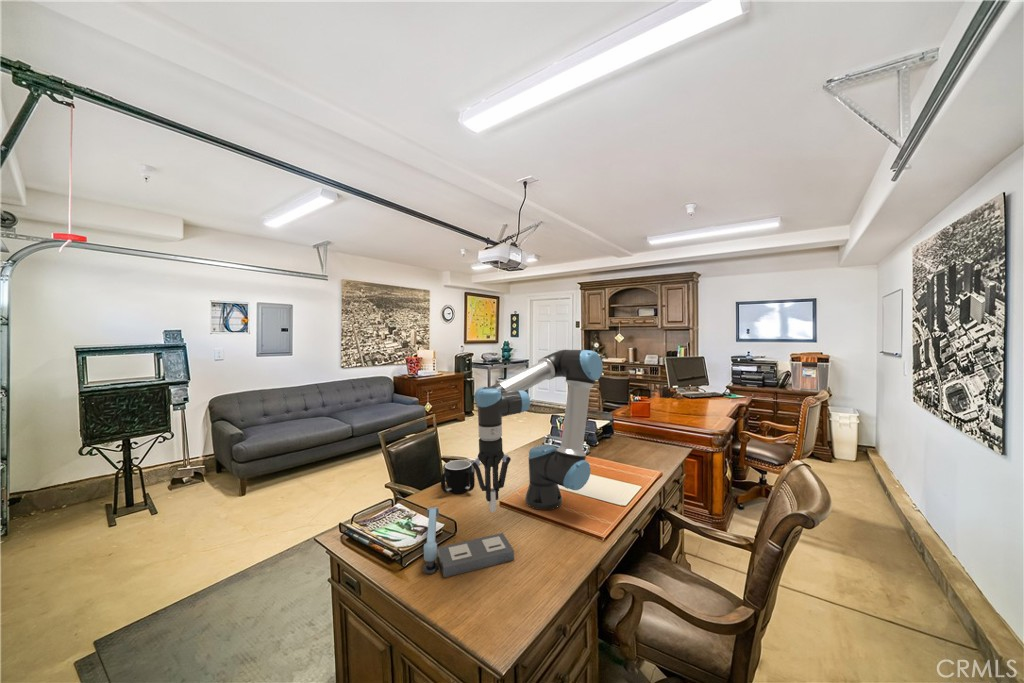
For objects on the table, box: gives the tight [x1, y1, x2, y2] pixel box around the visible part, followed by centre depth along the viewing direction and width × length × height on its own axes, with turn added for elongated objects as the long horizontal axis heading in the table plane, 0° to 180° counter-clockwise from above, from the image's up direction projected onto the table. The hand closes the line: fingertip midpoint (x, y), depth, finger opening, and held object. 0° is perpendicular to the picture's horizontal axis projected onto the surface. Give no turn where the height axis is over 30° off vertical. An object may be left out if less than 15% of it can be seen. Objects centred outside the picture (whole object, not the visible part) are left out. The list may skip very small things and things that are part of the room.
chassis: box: [437, 532, 515, 579], centre depth 116 cm, size 22×11×3 cm, turn 110°
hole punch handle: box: [423, 506, 440, 562], centre depth 122 cm, size 27×4×4 cm, turn 11°
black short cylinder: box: [422, 559, 440, 576], centre depth 111 cm, size 5×5×4 cm
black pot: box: [440, 459, 476, 495], centre depth 166 cm, size 16×16×12 cm
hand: (492, 510), depth 117 cm, fingers closed
